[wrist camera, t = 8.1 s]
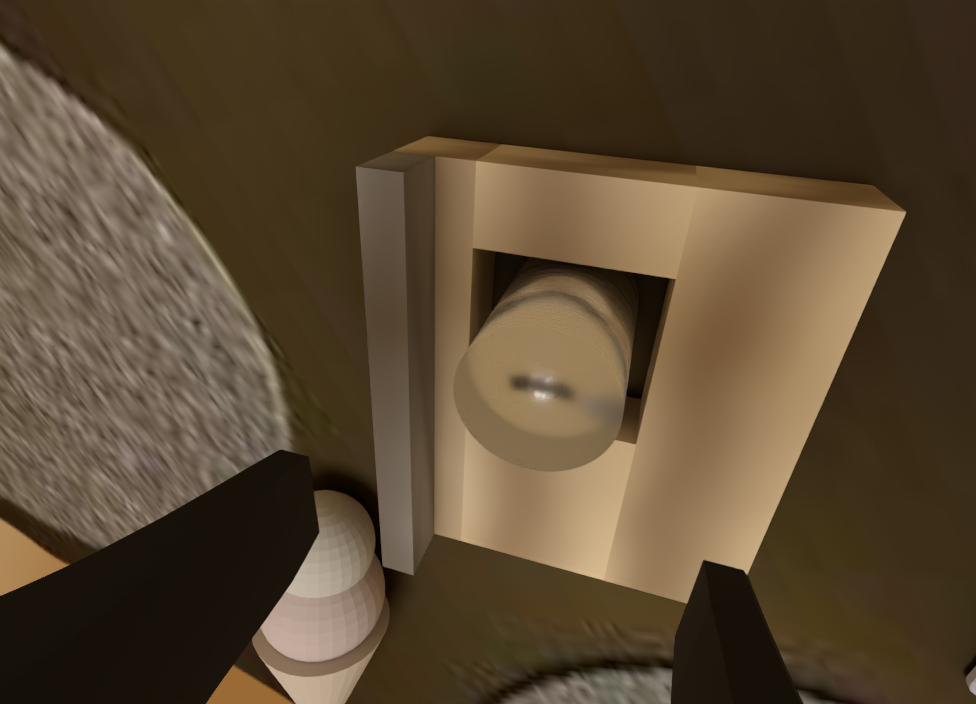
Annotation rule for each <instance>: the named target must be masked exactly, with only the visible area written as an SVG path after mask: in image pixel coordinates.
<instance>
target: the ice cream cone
mask: <svg viewBox="0 0 976 704" xmlns="http://www.w3.org/2000/svg"><path fill="white" fill-rule="evenodd" d="M314 497H315V504H316V510H317V517H318V524H319V531H320V532H319V534H318V536H317V538H316V540H315V542H314V544H313V546H312V547H311V549H310V551H309V553H308V555H307V557H306V559H305V561H304V562H303V564H302V566H301V568H300V569H299V571H298V573H297V575H296V576H295V578H294V580H293V581H292V583H291V584H290V586H289V587H288V589H287V590H286V592H285V593H284V595H283V596H282V597H281V599H280V600H279V602H278V603H277V604H276V606H275V607H274V609H273V610H272V611H271V613H270V614H269V616H268V617H267V619H266V620H265V621H264V623H263V624H262V626H261V627H260V628H259V630H258V631H257V632H256V634H255V635H254V637H253V638H252V641H253V646H254V648H255V649H256V651H257V653H258V655H259V656H260V658H261V659H262V660H263V662H264V663H265V664H266V665H267V667H268V668H269V669H270V671H271V672H272V673H273V674H274V676H275V677H276V678H277V680H278V681H279V682H280V683H281V685H282V686H283V687H284V689H285V690H286V691H287V692H288V694H289V695H290V696H291V698H292V699H293V700H294V701H295V703H296V704H345V702H346V701H347V699H348V697H349V695H350V694H351V692H352V690H353V688H354V687H355V685H356V683H357V681H358V680H359V678H360V676H361V674H362V673H363V671H364V669H365V667H366V666H367V664H368V662H369V660H370V659H371V657H372V655H373V653H374V652H375V650H376V648H377V646H378V645H379V643H380V641H381V639H382V638H383V636H384V634H385V632H386V630H387V626H388V623H389V614H390V609H389V604H388V600H387V598H386V596H385V579H384V574H383V569H382V567H381V564H380V561H379V559H378V557H377V555H376V554H375V553H374V550H375V541H376V540H375V531H374V526H373V523H372V521H371V518H370V516H369V514H368V513H367V511H366V510H365V509H364V507H363V506H362V505H361V504H360V503H359V502H358V501H356V500H355V499H353V498H352V497H350V496H349V495H346V494H344V493H341V492H337V491H332V490H319V491H314Z"/></svg>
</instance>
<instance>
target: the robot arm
mask: <svg viewBox="0 0 976 704" xmlns="http://www.w3.org/2000/svg"><path fill="white" fill-rule="evenodd" d="M319 532H320V531H319V524H318V517H317V510H316V504H315V497H314V490H313V483H312V476H311V469H310V463H309V457H308V456H304V455H300V454H296V453H292V452H289V451H285V450H279V451H277V452H275V453H273V454H272V455H270V456H268V457H266V458H264V459H263V460H261V461H259V462H257V463H256V464H254V465H252V466H250V467H249V468H247V469H245V470H244V471H242V472H240V473H238V474H237V475H235V476H233V477H232V478H230V479H228V480H227V481H225V482H223V483H221V484H220V485H218V486H216V487H215V488H213V489H211V490H209V491H208V492H206V493H204V494H202V495H201V496H199V497H197V498H195V499H194V500H192V501H190V502H188V503H187V504H185V505H183V506H181V507H180V508H178V509H176V510H174V511H173V512H171V513H169V514H167V515H166V516H164V517H162V518H160V519H158V520H156V521H155V522H153V523H151V524H149V525H147V526H145V527H143V528H141V529H139V530H137V531H136V532H134V533H132V534H130V535H128V536H126V537H124V538H122V539H120V540H119V541H117V542H115V543H113V544H111V545H109V546H107V547H105V548H103V549H101V550H100V551H98V552H96V553H94V554H92V555H90V556H88V557H85V558H83V559H81V560H79V561H77V562H75V563H73V564H71V565H69V566H67V567H65V568H63V569H60V570H58V571H56V572H54V573H52V574H49V575H47V576H45V577H43V578H41V579H38V580H36V581H34V582H32V583H30V584H27V585H25V586H23V587H20V588H18V589H16V590H14V591H11V592H9V593H7V594H4V595H2V596H0V704H206V703H207V701H208V700H209V698H210V697H211V695H212V694H213V692H214V691H215V689H216V688H217V687H218V685H219V684H220V682H221V681H222V679H223V678H224V677H225V675H226V674H227V673H228V671H229V670H230V669H231V667H232V666H233V664H234V663H235V662H236V660H237V659H238V657H239V656H240V655H241V653H242V652H243V651H244V649H245V648H246V646H247V645H248V644H249V642H250V641H251V639H252V638H253V637H254V635H255V634H256V632H257V631H258V630H259V628H260V627H261V626H262V624H263V623H264V621H265V620H266V619H267V617H268V616H269V614H270V613H271V611H272V610H273V609H274V607H275V606H276V604H277V603H278V602H279V600H280V599H281V597H282V596H283V595H284V593H285V592H286V590H287V589H288V587H289V586H290V584H291V583H292V581H293V580H294V578H295V576H296V575H297V573H298V571H299V569H300V568H301V566H302V564H303V562H304V561H305V559H306V557H307V555H308V553H309V551H310V549H311V547H312V546H313V544H314V542H315V540H316V538H317V536H318V534H319ZM966 682H967V685H968V687H969V689H970V691H971V692H972V693H973V694H975V695H976V666H975V668H974V669H973V670H972V671H971V672H970V673H969V674H968V676H967V677H966ZM671 704H803V702H802V700H801V698H800V696H799V694H798V692H797V689H796V687H795V685H794V683H793V681H792V679H791V677H790V675H789V672H788V670H787V668H786V666H785V664H784V661H783V659H782V657H781V655H780V652H779V650H778V648H777V646H776V643H775V641H774V639H773V636H772V634H771V632H770V629H769V627H768V625H767V622H766V620H765V618H764V615H763V613H762V610H761V608H760V605H759V603H758V600H757V598H756V595H755V593H754V590H753V588H752V585H751V582H750V580H749V577H748V576H747V574H746V573H745V571H744V570H741V569H737V568H734V567H730V566H726V565H722V564H718V563H714V562H711V561H707V560H703V562H702V565H701V568H700V570H699V573H698V576H697V578H696V581H695V584H694V586H693V589H692V592H691V595H690V597H689V600H688V603H687V605H686V608H685V611H684V614H683V616H682V619H681V622H680V624H679V627H678V630H677V632H676V635H675V645H674V659H673V674H672V691H671Z"/></svg>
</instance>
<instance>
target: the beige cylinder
mask: <svg viewBox="0 0 976 704" xmlns="http://www.w3.org/2000/svg"><path fill="white" fill-rule="evenodd" d="M638 308H639V291H638V287H637V283H636V280H635V278H634V275H633V274H632V272H626V271H620V270H613V269H607V268H601V267H594V266H588V265H581V264H575V263H568V262H562V261H555V260H549V259H542V258H536V257H529V258H528V259H527V260H526V261H525V263H524V264H523V265H522V267H521V268H520V270H519V272H518V273H517V275H516V276H515V278H514V279H513V281H512V282H511V284H510V285H509V287H508V288H507V290H506V291H505V293H504V294H503V296H502V297H501V299H500V301H499V302H498V304H497V305H496V307H495V308H494V310H493V311H492V313H491V314H490V316H489V317H488V319H487V320H486V322H485V323H484V325H483V326H482V328H481V330H480V331H479V333H478V334H477V336H476V337H475V339H474V340H473V342H472V343H471V345H470V346H469V348H468V349H467V351H466V352H465V354H464V355H463V357H462V359H461V361H460V362H459V364H458V367H457V370H456V373H455V377H454V383H453V393H454V400H455V404H456V408H457V411H458V413H459V416H460V418H461V420H462V422H463V423H464V425H465V427H466V428H467V430H468V431H469V432H470V434H471V435H472V436H473V437H474V438H475V439H476V440H477V441H478V442H479V443H480V444H481V445H482V446H483V447H484V448H485V449H487V450H488V451H490V452H491V453H492V454H494V455H495V456H497V457H499V458H501V459H502V460H504V461H507V462H509V463H511V464H513V465H516V466H519V467H522V468H526V469H531V470H537V471H548V472H556V471H566V470H571V469H575V468H578V467H581V466H584V465H586V464H588V463H590V462H592V461H594V460H595V459H597V458H598V457H600V456H601V455H602V454H603V453H604V452H606V451H607V450H608V448H609V447H610V446H611V445H612V444H613V442H614V440H615V439H616V437H617V435H618V433H619V430H620V428H621V424H622V419H623V412H624V405H625V398H626V391H627V385H628V378H629V371H630V364H631V357H632V350H633V343H634V336H635V329H636V322H637V315H638Z"/></svg>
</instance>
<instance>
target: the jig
mask: <svg viewBox="0 0 976 704" xmlns="http://www.w3.org/2000/svg"><path fill="white" fill-rule="evenodd" d="M356 178H357V193H358V208H359V223H360V237H361V252H362V267H363V282H364V297H365V312H366V326H367V341H368V356H369V371H370V386H371V401H372V416H373V430H374V445H375V460H376V475H377V490H378V505H379V519H380V534H381V549H382V564H383V566H384V567H387V568H390V569H394V570H397V571H400V572H404V573H407V574H410V575H414V574H415V572H416V569H417V567H418V565H419V563H420V561H421V559H422V557H423V555H424V553H425V551H426V549H427V547H428V545H429V543H430V541H431V539H432V537H433V535H434V533H435V534H438V535H442V536H445V537H449V538H453V539H456V540H460V541H463V542H467V543H471V544H474V545H478V546H481V547H485V548H489V549H492V550H496V551H499V552H503V553H507V554H510V555H514V556H518V557H521V558H525V559H528V560H532V561H536V562H539V563H543V564H546V565H550V566H554V567H557V568H561V569H564V570H568V571H572V572H575V573H579V574H582V575H586V576H590V577H593V578H597V579H601V580H604V581H608V582H611V583H615V584H619V585H622V586H626V587H629V588H633V589H637V590H640V591H644V592H647V593H651V594H655V595H658V596H662V597H665V598H669V599H673V600H676V601H680V602H684V603H688V600H689V597H690V595H691V592H692V589H693V586H694V584H695V581H696V578H697V576H698V573H699V570H700V568H701V565H702V562H703V560H707V561H711V562H714V563H718V564H722V565H726V566H730V567H734V568H737V569H741V570H744V571H745V573H746V574H748V572H749V569H750V567H751V565H752V563H753V560H754V558H755V556H756V554H757V551H758V549H759V547H760V544H761V542H762V540H763V538H764V535H765V533H766V531H767V528H768V526H769V524H770V522H771V519H772V517H773V515H774V513H775V510H776V508H777V506H778V503H779V501H780V499H781V497H782V494H783V492H784V490H785V487H786V485H787V483H788V481H789V478H790V476H791V474H792V472H793V469H794V467H795V465H796V462H797V460H798V458H799V456H800V453H801V451H802V449H803V446H804V444H805V442H806V440H807V437H808V435H809V433H810V430H811V428H812V426H813V424H814V421H815V419H816V417H817V415H818V412H819V410H820V408H821V405H822V403H823V401H824V399H825V396H826V394H827V392H828V389H829V387H830V385H831V383H832V380H833V378H834V376H835V374H836V371H837V369H838V367H839V364H840V362H841V360H842V358H843V355H844V353H845V351H846V348H847V346H848V344H849V342H850V339H851V337H852V335H853V333H854V330H855V328H856V326H857V323H858V321H859V319H860V317H861V314H862V312H863V310H864V307H865V305H866V303H867V301H868V298H869V296H870V294H871V291H872V289H873V287H874V285H875V282H876V280H877V278H878V276H879V273H880V271H881V269H882V266H883V264H884V262H885V260H886V257H887V255H888V253H889V250H890V248H891V246H892V244H893V241H894V239H895V237H896V235H897V232H898V230H899V228H900V225H901V223H902V221H903V219H904V216H905V214H906V211H904V210H903V209H902V208H901V207H899V206H898V205H897V204H896V203H894V202H893V201H892V200H891V199H889V198H888V197H887V196H886V195H884V194H883V193H882V192H881V191H879V190H878V189H877V188H876V187H874V186H873V185H866V184H857V183H848V182H839V181H830V180H820V179H811V178H802V177H793V176H784V175H775V174H766V173H757V172H748V171H739V170H730V169H721V168H712V167H703V166H694V165H685V164H676V163H667V162H658V161H649V160H640V159H631V158H622V157H613V156H604V155H595V154H586V153H577V152H568V151H559V150H550V149H541V148H531V147H522V146H513V145H504V144H495V143H486V142H477V141H468V140H459V139H450V138H441V137H432V136H427V137H425V138H422V139H420V140H418V141H415V142H413V143H410V144H408V145H406V146H403V147H401V148H399V149H396V150H394V151H391V152H389V153H387V154H384V155H382V156H380V157H377V158H375V159H372V160H370V161H368V162H365V163H363V164H360V165H358V166H356ZM496 251H497V252H504V253H510V254H517V255H523V256H529V257H536V258H542V259H549V260H555V261H562V262H568V263H575V264H581V265H588V266H594V267H601V268H607V269H613V270H620V271H626V272H633V273H639V274H646V275H652V276H659V277H665V278H669V282H668V286H667V290H666V295H665V299H664V303H663V307H662V312H661V316H660V320H659V324H658V329H657V333H656V337H655V342H654V346H653V350H652V354H651V359H650V363H649V367H648V371H647V376H646V380H645V384H644V389H643V393H642V397H641V399H637V398H632V397H627V396H626V398H625V405H624V412H623V419H622V424H621V428H620V430H619V433H618V435H617V437H616V439H615V440H614V442H613V444H612V445H611V446H610V447H609V448H608V450H607V451H606V452H604V453H603V454H602V455H601V456H600V457H598V458H597V459H595V460H594V461H592V462H590V463H588V464H586V465H584V466H581V467H578V468H575V469H571V470H566V471H556V472H548V471H537V470H531V469H526V468H522V467H519V466H516V465H513V464H511V463H509V462H507V461H504V460H502V459H501V458H499V457H497V456H495V455H494V454H492V453H491V452H490V451H488V450H487V449H485V448H484V447H483V446H482V445H481V444H480V443H479V442H478V441H477V440H476V439H475V438H474V437H473V436H472V435H471V434H470V432H469V431H468V430H467V428H466V427H465V425H464V423H463V422H462V420H461V418H460V416H459V413H458V411H457V408H456V404H455V400H454V393H453V383H454V377H455V373H456V370H457V367H458V364H459V362H460V361H461V359H462V357H463V355H464V354H465V352H466V351H467V349H468V348H469V346H470V345H471V343H472V342H473V340H474V339H475V337H476V336H477V334H478V333H479V331H480V330H481V328H482V326H483V325H484V323H485V322H486V320H487V319H488V317H489V316H490V314H491V313H492V302H493V286H494V270H495V254H496Z"/></svg>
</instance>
